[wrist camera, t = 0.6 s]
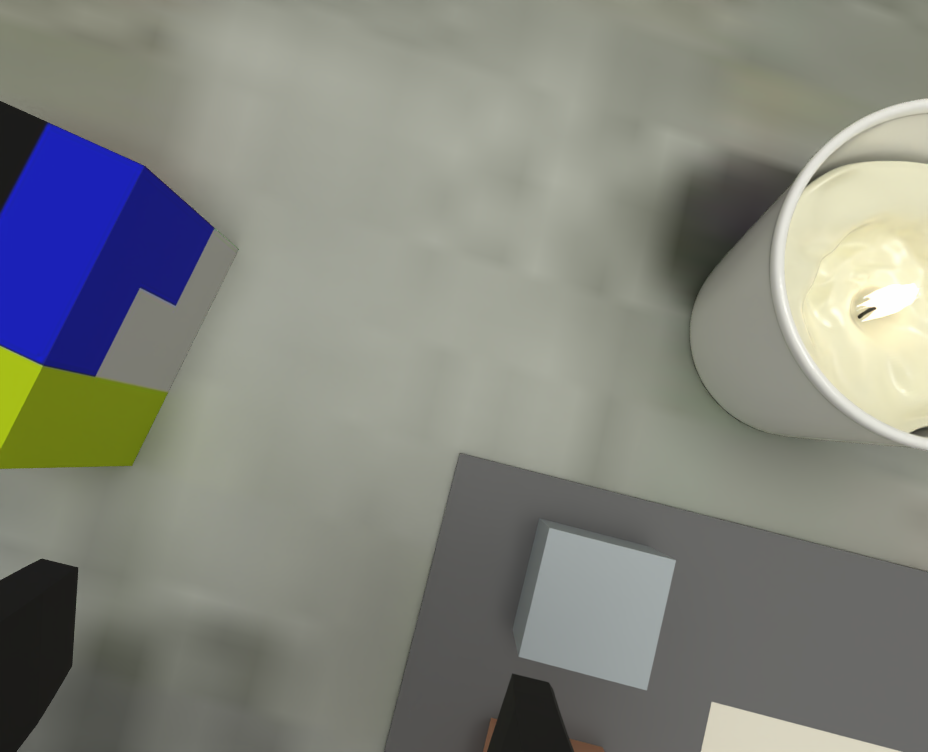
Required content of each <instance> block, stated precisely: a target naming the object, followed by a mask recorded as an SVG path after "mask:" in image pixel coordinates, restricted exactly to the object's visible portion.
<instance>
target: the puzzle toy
mask: <svg viewBox="0 0 928 752" xmlns="http://www.w3.org/2000/svg"><path fill="white" fill-rule="evenodd" d="M238 250H239V249H238V248H236V247H235V246H234V245H233V244H232V243H231V242H230V241H229V240H227V239H226V238H225V237H224V236H223V235H222V234H221V233H220V232H218V231H217V230H216V229H215V228H214V227H213V226H212V225H211V224H209V223H208V222H207V221H206V220H205V219H204V218H203V217H202V216H200V215H199V214H198V213H197V212H196V211H195V210H194V209H193V208H191V207H190V206H189V205H188V204H187V203H186V202H185V201H184V200H182V199H181V198H180V197H179V196H178V195H177V194H176V193H175V192H173V191H172V190H171V189H170V188H169V187H168V186H167V185H166V184H164V183H163V182H162V181H161V180H160V179H159V178H158V177H157V176H155V175H154V174H153V173H152V172H151V171H150V170H149V169H148V168H146V167H145V166H144V165H141V164H139V163H137V162H135V161H132V160H130V159H128V158H126V157H124V156H121V155H119V154H117V153H115V152H112V151H110V150H108V149H106V148H104V147H101V146H99V145H97V144H95V143H93V142H90V141H88V140H86V139H84V138H81V137H79V136H77V135H75V134H73V133H70V132H68V131H66V130H64V129H61V128H59V127H57V126H55V125H53V124H50V123H48V122H46V121H44V120H41V119H39V118H37V117H35V116H33V115H30V114H28V113H26V112H24V111H21V110H19V109H17V108H15V107H13V106H10V105H8V104H6V103H4V102H1V101H0V469H12V468H56V467H100V466H132V465H133V463H134V461H135V459H136V457H137V454H138V452H139V450H140V448H141V446H142V444H143V442H144V440H145V438H146V436H147V434H148V432H149V430H150V428H151V426H152V424H153V422H154V420H155V418H156V416H157V414H158V412H159V410H160V408H161V406H162V404H163V402H164V400H165V398H166V396H167V394H168V392H169V390H170V388H171V386H172V384H173V382H174V379H175V377H176V375H177V373H178V371H179V369H180V367H181V365H182V363H183V361H184V359H185V357H186V355H187V353H188V351H189V349H190V347H191V345H192V343H193V341H194V339H195V337H196V335H197V333H198V331H199V329H200V327H201V325H202V323H203V321H204V319H205V317H206V315H207V313H208V311H209V309H210V307H211V304H212V302H213V300H214V298H215V296H216V294H217V292H218V290H219V288H220V286H221V284H222V282H223V280H224V278H225V276H226V274H227V272H228V270H229V268H230V266H231V264H232V262H233V260H234V258H235V256H236V254H237V252H238Z"/></svg>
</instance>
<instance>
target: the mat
mask: <svg viewBox="0 0 928 752" xmlns="http://www.w3.org/2000/svg"><path fill="white" fill-rule="evenodd" d="M539 518H540V519H544V520H548V521H552V522H555V523H559V524H563V525H567V526H571V527H575V528H579V529H583V530H587V531H591V532H594V533H598V534H602V535H606V536H610V537H614V538H618V539H622V540H626V541H630V542H633V543H637V544H641V545H645V546H649V547H651V548H653V549H655V550H657V551H659V552H661V553H663V554H664V555H666V556H668V557H670V558H672V559H674V560H676V563H675V567H674V572H673V576H672V580H671V585H670V589H669V594H668V598H667V603H666V607H665V612H664V616H663V621H662V625H661V629H660V634H659V638H658V643H657V647H656V652H655V656H654V661H653V665H652V670H651V674H650V678H649V683H648V687H647V690H643V689H639V688H636V687H632V686H628V685H624V684H620V683H617V682H613V681H609V680H605V679H601V678H598V677H594V676H590V675H586V674H582V673H579V672H575V671H571V670H567V669H563V668H560V667H556V666H552V665H548V664H544V663H541V662H537V661H533V660H529V659H525V658H522V657H519V656H518V652H517V647H516V643H515V638H514V634H513V625H514V621H515V617H516V613H517V609H518V604H519V600H520V596H521V592H522V588H523V584H524V580H525V575H526V571H527V567H528V563H529V559H530V555H531V551H532V546H533V542H534V538H535V534H536V530H537V526H538V522H539ZM512 673H513V674H517V675H521V676H525V677H529V678H533V679H537V680H541V681H546V682H549V683H550V685H551V687H552V688H553V690H554V694H555V697H556V700H557V703H558V707H559V710H560V713H561V716H562V719H563V722H564V725H565V728H566V730H567V733H568V736H569V738H570V739H573V740H577V741H581V742H585V743H588V744H592V745H596V746H600V747H603V749H604V752H928V572H925V571H921V570H917V569H913V568H909V567H905V566H902V565H898V564H894V563H890V562H886V561H882V560H878V559H874V558H870V557H866V556H862V555H858V554H854V553H850V552H847V551H843V550H839V549H835V548H831V547H827V546H823V545H819V544H815V543H811V542H807V541H803V540H799V539H795V538H791V537H788V536H784V535H780V534H776V533H772V532H768V531H764V530H760V529H756V528H752V527H748V526H744V525H740V524H736V523H733V522H729V521H725V520H721V519H717V518H713V517H709V516H705V515H701V514H697V513H693V512H689V511H685V510H681V509H677V508H674V507H670V506H666V505H662V504H658V503H654V502H650V501H646V500H642V499H638V498H634V497H630V496H626V495H622V494H619V493H615V492H611V491H607V490H603V489H599V488H595V487H591V486H587V485H583V484H579V483H575V482H571V481H567V480H563V479H560V478H556V477H552V476H548V475H544V474H540V473H536V472H532V471H528V470H524V469H520V468H516V467H512V466H508V465H505V464H501V463H497V462H493V461H489V460H485V459H481V458H477V457H473V456H469V455H465V454H461V453H460V454H459V458H458V462H457V466H456V470H455V474H454V478H453V482H452V486H451V490H450V494H449V498H448V502H447V506H446V510H445V514H444V518H443V521H442V525H441V529H440V533H439V537H438V541H437V545H436V549H435V553H434V557H433V561H432V565H431V569H430V573H429V577H428V581H427V585H426V589H425V593H424V597H423V601H422V605H421V609H420V613H419V616H418V620H417V624H416V628H415V632H414V636H413V640H412V644H411V648H410V652H409V656H408V660H407V664H406V668H405V672H404V676H403V680H402V684H401V688H400V692H399V696H398V700H397V704H396V708H395V711H394V715H393V719H392V723H391V727H390V731H389V735H388V739H387V743H386V747H385V751H384V752H483V749H484V745H485V741H486V737H487V733H488V729H489V724H490V720H491V718H494V719H498V716H499V713H500V709H501V706H502V703H503V700H504V697H505V694H506V691H507V688H508V685H509V682H510V679H511V676H512Z"/></svg>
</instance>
